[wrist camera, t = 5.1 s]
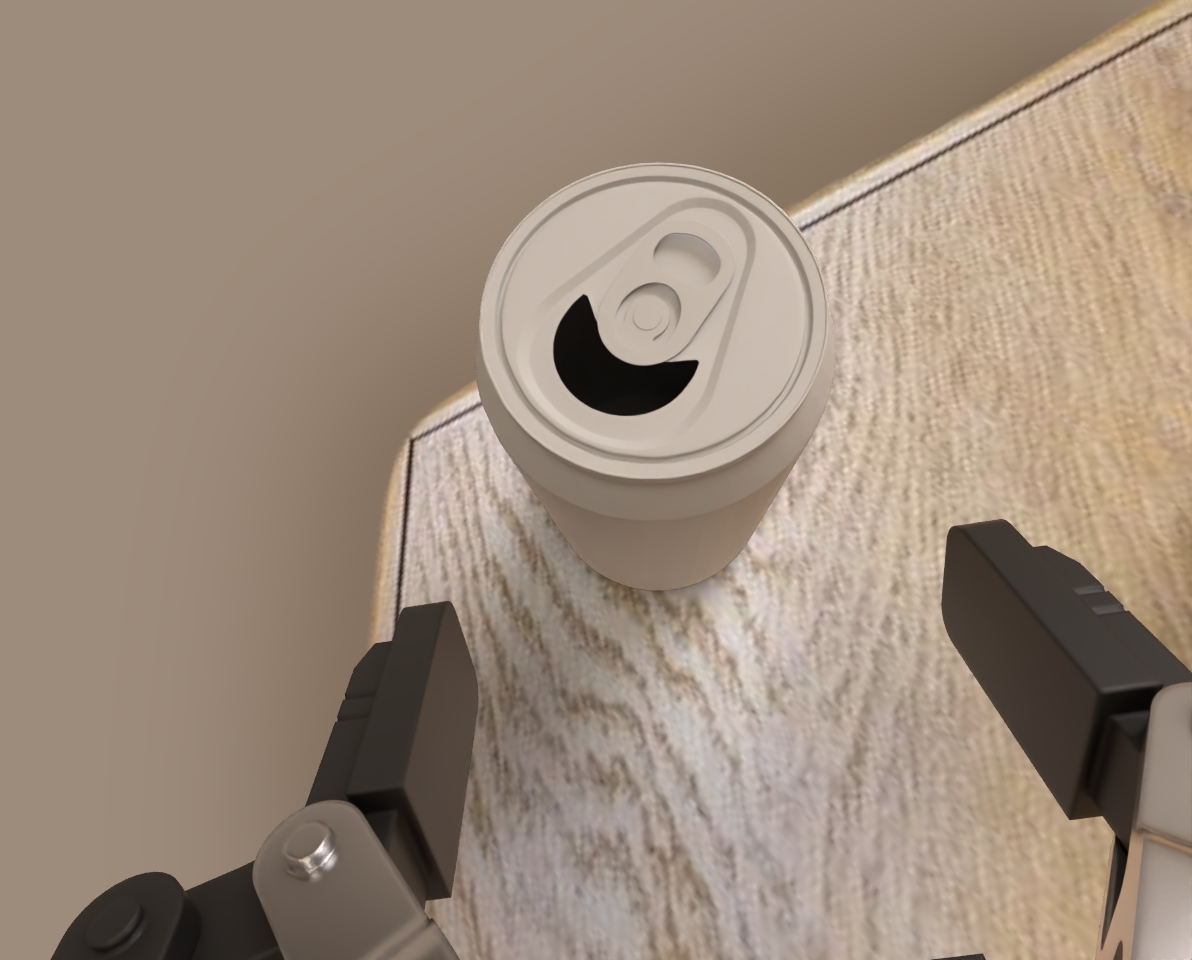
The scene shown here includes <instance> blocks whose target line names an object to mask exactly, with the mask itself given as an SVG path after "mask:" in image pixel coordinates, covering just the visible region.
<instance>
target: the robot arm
mask: <svg viewBox="0 0 1192 960" xmlns="http://www.w3.org/2000/svg"><path fill="white" fill-rule="evenodd" d="M941 605H942V615H943V620H944V624H945V627H946V630H947V633H948V635H949V637H950V639H951V641H952V643H953V644H954V646H955V647H956V649H957V650H958V652H959V653H960V655H961V656H962V658H963V660H964V661H965V663H966V664H967V666H968V667H969V669H970V670H971V672H972V673H973V675H974V676H975V678H976V679H977V681H978V682H979V684H980V685H981V687H982V688H983V690H984V691H985V693H986V694H987V696H988V697H989V699H990V700H991V702H992V703H993V705H994V706H995V708H996V710H997V711H998V713H999V714H1000V716H1001V717H1002V719H1003V720H1004V722H1005V723H1006V725H1007V726H1008V728H1009V729H1010V731H1011V732H1012V734H1013V735H1014V737H1015V738H1016V740H1017V741H1018V743H1019V744H1020V746H1021V747H1022V749H1023V750H1024V752H1025V753H1026V755H1027V757H1028V758H1029V760H1030V761H1031V763H1032V764H1033V766H1034V767H1035V769H1036V770H1037V772H1038V773H1039V775H1040V776H1041V778H1042V779H1043V781H1044V782H1045V784H1046V785H1047V787H1048V788H1049V790H1050V791H1051V793H1052V794H1053V796H1054V797H1055V799H1056V800H1057V802H1058V804H1059V805H1060V807H1061V808H1062V810H1063V811H1064V813H1065V814H1066V816H1067V817H1068V819H1069V820H1075V819H1083V818H1090V817H1098V816H1103V817H1104V818H1105V820H1106V821H1107V823H1108V824H1109V825H1110V827H1111V828H1112V830H1113V831H1114V836H1113V839H1112V843H1111V846H1110V853H1109V860H1108V867H1107V874H1106V882H1105V889H1104V896H1103V903H1102V910H1101V917H1100V925H1099V932H1098V939H1097V946H1096V953H1095V960H1192V672H1190V671H1189V670H1188V669H1187V668H1186V667H1185V666H1184V665H1183V664H1182V663H1181V662H1180V661H1179V660H1178V659H1177V658H1176V657H1175V656H1174V655H1173V654H1172V653H1171V652H1170V651H1169V650H1168V649H1167V648H1166V647H1165V646H1164V645H1163V644H1162V643H1161V642H1160V641H1159V640H1158V639H1157V638H1156V637H1155V636H1154V635H1153V634H1152V633H1151V632H1150V631H1149V630H1148V629H1147V628H1146V627H1145V626H1144V625H1143V624H1142V623H1141V622H1140V621H1139V620H1137V619H1136V618H1135V617H1134V616H1133V615H1132V614H1131V613H1130V612H1129V611H1125V610H1124V608H1123V605H1122V604H1121V603H1120V602H1119V601H1118V600H1117V599H1116V598H1115V597H1114V596H1113V595H1112V594H1111V593H1110V592H1109V591H1106V592H1105V590H1104V586H1103V585H1102V584H1101V583H1100V582H1099V581H1098V580H1097V579H1096V578H1095V577H1094V576H1093V575H1092V574H1091V573H1090V572H1089V571H1088V570H1087V569H1086V568H1085V567H1083V566H1082V565H1081V564H1080V563H1079V562H1077V561H1075V560H1073V559H1071V558H1069V557H1067V556H1065V555H1063V554H1061V553H1060V552H1058V551H1056V550H1054V549H1052V548H1050V547H1048V546H1039V547H1032V546H1031V545H1030V544H1029V543H1028V542H1027V540H1026V539H1025V538H1024V537H1023V536H1022V535H1021V534H1020V533H1019V532H1018V531H1017V530H1016V529H1015V528H1014V527H1013V526H1012V525H1011V524H1010V523H1009V522H1008V521H1006V520H1003V519H998V520H992V521H985V522H978V523H972V524H965V525H958V526H953V527H951V529H950V530H949V532H948V535H947V543H946V555H945V567H944V578H943V590H942V604H941ZM345 697H346V698H345V700H343V702H342V704H341V707H340V710H339V713H338V716H337V718H338V721H337V722H335V724H334V727H333V730H332V733H331V736H330V738H329V741H328V744H327V747H326V750H325V752H324V755H323V758H322V761H321V764H320V766H319V769H318V772H317V775H316V778H315V781H314V783H313V786H312V789H311V792H310V795H309V797H308V800H307V803H306V805H305V807H304V808H302V809H300V810H298V811H297V812H295V813H293V814H292V815H290V816H289V817H288V818H286V819H285V820H284V821H283V822H281V823H280V824H279V825H278V826H277V827H276V828H275V829H274V830H273V831H272V833H271V834H270V835H269V836H268V837H267V839H266V840H265V841H264V843H263V844H262V846H261V848H260V850H259V852H258V854H257V857H256V859H255V860H254V861H253V862H251V863H248V864H247V865H244V866H242V867H240V868H238V869H236V870H233V871H231V872H229V873H226V874H224V875H222V876H219V877H217V878H215V879H212V880H210V881H208V882H205V883H203V884H201V885H198V886H196V887H194V888H191V889H189V890H187V891H184V889H183V888H182V886H181V885H180V884H179V882H178V881H177V880H176V879H175V878H174V877H173V876H171V875H169V874H166V873H161V872H150V873H144V874H140V875H136V876H134V877H131V878H128V879H126V880H124V881H122V882H120V883H118V884H116V885H114V886H113V887H111V888H110V889H108V890H107V891H105V892H104V893H103V894H101V895H100V896H99V897H97V898H96V899H95V900H94V901H93V902H91V903H90V904H89V905H88V906H87V907H86V908H85V909H84V910H83V911H82V912H81V913H80V914H79V916H78V917H77V918H76V919H75V920H74V921H73V923H72V924H71V926H70V927H69V928H68V929H67V931H66V933H65V934H64V936H63V938H62V939H61V941H60V943H59V945H58V947H57V949H56V951H55V953H54V955H53V956H52V958H51V960H460V959H459V957H458V956H457V954H456V952H455V951H454V949H453V948H452V946H451V945H450V943H449V942H448V940H447V938H446V937H445V935H444V934H443V932H442V931H441V929H440V928H439V926H438V925H437V924H436V922H435V921H434V920H433V919H432V918H431V919H429V918H428V916H427V915H426V913H425V912H424V909H425V903H426V901H427V900H435V899H443V898H450V897H451V895H452V888H453V881H454V874H455V867H456V860H457V853H458V846H459V839H460V832H461V825H462V818H463V811H464V803H465V796H466V789H467V782H468V775H469V768H470V761H471V754H472V747H473V740H474V733H475V726H476V719H477V712H478V684H477V678H476V673H475V669H474V666H473V663H472V660H471V657H470V653H469V650H468V647H467V644H466V641H465V638H464V635H463V632H462V629H461V626H460V623H459V620H458V617H457V614H456V611H455V608H454V606H453V605H452V603H451V602H450V601H445V602H438V603H431V604H425V605H418V606H412V607H405V608H404V609H403V610H402V611H401V614H400V617H399V620H398V623H397V626H396V630H395V633H394V636H393V639H392V641H389V642H382V643H375V644H374V645H373V646H372V648H371V649H370V650H369V651H368V652H367V654H366V655H365V656H364V657H363V658H362V660H361V661H360V662H359V663H358V665H357V666H356V667H355V668H354V670H353V674H352V676H351V679H350V682H349V685H348V688H347V691H346V693H345ZM933 960H986V959H985V957H984V955H983V954H975V955H966V956H958V957H950V958H941V959H933Z"/></svg>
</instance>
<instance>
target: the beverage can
mask: <svg viewBox="0 0 1192 960" xmlns="http://www.w3.org/2000/svg"><path fill="white" fill-rule="evenodd" d="M835 362H836V343H835V332H834V326H833V321H832V316H831V312H830V308H829V302H828V295H827V289H826V285H825V281H824V277H823V274H822V271H821V268H820V265H819V263H818V260H817V258H816V256H815V254H814V252H813V250H812V248H811V246H810V245H809V243H808V241H807V239H806V238H805V236H804V235H803V234H802V232H801V231H800V229H799V228H798V227H797V226H796V224H795V223H794V222H793V221H792V219H791V218H790V217H789V216H788V215H787V214H786V213H785V212H784V211H783V210H782V209H781V208H779V207H778V206H777V205H776V204H775V203H774V202H773V201H771V200H770V199H769V198H768V197H766V196H765V195H763V194H762V193H760V192H759V191H757V190H755V189H754V188H752V187H751V186H749V185H747V184H745V183H743V182H741V181H739V180H737V179H735V178H732V177H730V176H727V175H725V174H722V173H720V172H716V171H713V170H709V169H706V168H702V167H698V166H692V165H686V164H676V163H642V164H632V165H627V166H621V167H617V168H613V169H608V170H604V171H602V172H598V173H595V174H592V175H590V176H587V177H585V178H583V179H580V180H578V181H576V182H574V183H572V184H570V185H568V186H566V187H565V188H563V189H561V190H559V191H558V192H556V193H555V194H553V195H552V196H550V197H549V198H547V199H546V200H545V201H543V202H542V203H541V204H539V205H538V206H537V207H536V208H535V209H534V210H532V211H531V212H530V213H529V214H528V215H527V216H526V217H525V218H524V219H523V220H522V221H521V222H520V224H519V225H518V226H517V227H516V228H515V229H514V230H513V232H512V233H511V234H510V236H509V237H508V238H507V240H506V241H505V243H504V244H503V246H502V248H501V249H500V251H499V253H498V255H497V256H496V259H495V261H494V263H493V265H492V268H491V270H490V272H489V275H488V277H487V280H486V283H485V287H484V291H483V295H482V300H481V306H480V322H479V329H478V333H477V340H476V357H475V367H476V376H477V383H478V390H479V395H480V398H481V402H482V404H483V407H484V409H485V412H486V414H487V416H488V418H489V421H490V423H491V425H492V427H493V429H494V431H495V433H496V435H497V437H498V439H499V441H500V443H501V444H502V446H503V447H504V449H505V450H506V452H507V453H508V455H509V456H510V458H511V459H512V461H513V462H514V463H515V465H516V466H517V468H518V469H519V471H520V472H521V474H522V475H523V477H524V478H525V480H526V481H527V483H528V484H529V486H530V487H531V488H532V490H533V491H534V493H535V494H536V496H537V497H538V499H539V500H540V502H541V503H542V505H543V506H544V508H545V509H546V511H547V512H548V513H549V515H550V516H551V518H552V519H553V521H554V522H555V524H556V525H557V527H558V528H559V530H560V531H561V533H562V534H563V536H564V537H565V538H566V540H567V541H568V543H569V544H570V546H571V547H572V548H573V550H574V551H575V552H576V553H577V555H578V556H579V557H580V558H581V559H582V560H583V561H584V562H585V563H586V564H587V565H589V566H590V567H591V568H592V569H594V570H595V571H596V572H598V573H600V574H601V575H603V576H605V577H606V578H608V579H610V580H612V581H615V582H617V583H620V584H622V585H625V586H628V587H632V588H637V589H643V590H673V589H678V588H683V587H687V586H690V585H693V584H696V583H698V582H701V581H703V580H705V579H707V578H709V577H711V576H713V575H714V574H716V573H718V572H719V571H721V570H722V569H723V568H725V567H726V566H727V565H728V564H729V563H730V562H731V561H733V560H734V559H735V558H736V557H737V555H738V554H739V553H740V552H741V550H742V549H743V548H744V547H745V545H746V544H747V542H748V541H749V539H750V537H751V536H752V534H753V532H754V531H755V529H756V528H757V526H758V524H759V523H760V521H761V519H762V518H763V516H764V514H765V513H766V511H767V509H768V508H769V506H770V504H771V503H772V501H773V499H774V498H775V496H776V494H777V493H778V491H779V489H780V488H781V486H782V485H783V483H784V481H785V480H786V478H787V476H788V475H789V473H790V471H791V470H792V468H793V466H794V465H795V463H796V461H797V460H798V458H799V456H800V455H801V453H802V451H803V450H804V448H805V446H806V445H807V443H808V442H809V440H810V438H811V437H812V435H813V433H814V431H815V429H816V427H817V426H818V423H819V421H820V419H821V417H822V415H823V413H824V410H825V408H826V405H827V402H828V399H829V396H830V392H831V388H832V384H833V379H834V372H835Z"/></svg>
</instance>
